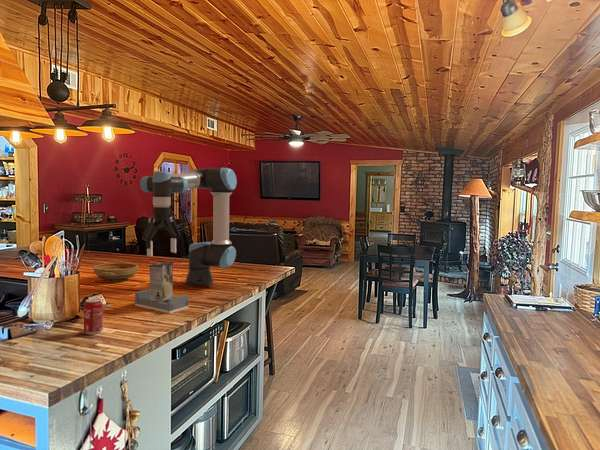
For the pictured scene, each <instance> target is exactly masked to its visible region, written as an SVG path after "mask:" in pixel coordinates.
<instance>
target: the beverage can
mask: <svg viewBox="0 0 600 450" xmlns="http://www.w3.org/2000/svg"><path fill="white" fill-rule="evenodd" d="M103 305H104V303H103V301H102V300H101V298H88V299H85V302H84V304H83V332H85V333H86V334H87V335H96V334H100V333H101V331H103V329H104V306H103Z"/></svg>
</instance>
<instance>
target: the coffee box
mask: <svg viewBox="0 0 600 450" xmlns="http://www.w3.org/2000/svg"><path fill="white" fill-rule="evenodd" d="M173 266H174V265H173V262H166V261H165V262H164V261H160V262H157V263H153V264H150V265H149V289H150V301H159V302H163V301H165V300H167V299H169V298H172V297H174V295H173V294H174V293H173V292H174V291H173V290H174V289H173V288H174V287H173V286H174V284H173V281H174V280H173V278H174V277H173V275H174V274H173V271H174V270H173Z"/></svg>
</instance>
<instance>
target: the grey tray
mask: <svg viewBox="0 0 600 450" xmlns="http://www.w3.org/2000/svg"><path fill="white" fill-rule="evenodd" d="M189 296H190V295H189V294H188V293H187V294H186V293H185V294H183V295H182V294H181V295H179V296H175V297H174V296H173V297H172V298H169V299H167V300H165V301H163V302H159V301H150V288H149V289H144V290H140V291H136V292H134V306H135V307H140V308H144V309H148V310H149V309H150V310H153V311H158V312H162V313H166V314H173V313H176V312H179V311H180V312H181V311H183V310H187V309H189V306H190V302H189V301H190V300H189V298H190V297H189Z"/></svg>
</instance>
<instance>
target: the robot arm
mask: <svg viewBox="0 0 600 450" xmlns="http://www.w3.org/2000/svg"><path fill="white" fill-rule="evenodd" d="M139 185H140V189H141V191H143V192H144V193H152V206H153V207H152V215H153V217H148V218H147V224H146V226H145V229H144V230H143V233H142V235H141V240H143V241H145V249H146V257H153V255H154V253H153V252H154V251H153V248H154V246H153V244H154V243H153V240H152V239H153V238H154V236H155V234H156V233H157V231H158V230H159V229H162V228H165V229H166V230H167V232H168V233H169V234H170V236H171V237H170V252H171V253H174V254H177V245H178V239H180V237H181V235H182V234H181V231H180V229H179V227H178V225H177V222H176V216H171V215H172V213H171V212H172V211H171V206H172V203H171V202H172V201H171V199H172V198H171V197H172V196H171V195H172V194H183V193H185V192H187V191H188V189H189V188H190V189H203V190H210V194H211V195H212V196H213V197H212V198H213V201H212V202H213V204H212V206H213V207H212V208H213V210H212V211H213V212H212V214H213V215H212V216H213V217H212V218H213V219H212V222H213V223H212V227H213V228H212V230H213V231H212V232H213V233H212V238H213V240H211V241H203V242H194V243H191V244H190V245H188V246H189V248H188V271H187V276H186V278H185V284H186V285H188V286H192V287H193V286H194V287H203V286H204V287H205V286H210V285H213V284H214V279H213V275H212V271H211V267H215V268H218V267H219V268H230V267H231V266H232V265H233V264H234V262H235V260H236V256H237V249H236V248H235V247H234V246H233V245H232V243H233V242H232V241H231V240H230V196H231V195H232V194H233V191H234V190H236V188H237V185H238V181H237V175H236V174H235V172H234V170H233V169H231V168H229V167H204V168H198V169H193V170H189V171H187V172H182V173H173V174H172V173H171V172H170V171H159V170H156V171H154V172H153V173H152V175H147V176H146V175H145V176H143V177H142V178H141V179H140V182H139Z"/></svg>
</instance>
